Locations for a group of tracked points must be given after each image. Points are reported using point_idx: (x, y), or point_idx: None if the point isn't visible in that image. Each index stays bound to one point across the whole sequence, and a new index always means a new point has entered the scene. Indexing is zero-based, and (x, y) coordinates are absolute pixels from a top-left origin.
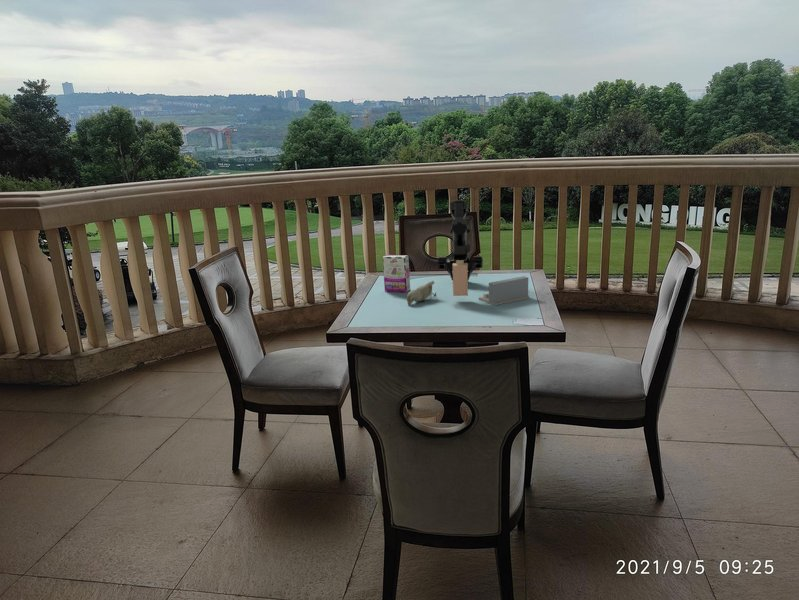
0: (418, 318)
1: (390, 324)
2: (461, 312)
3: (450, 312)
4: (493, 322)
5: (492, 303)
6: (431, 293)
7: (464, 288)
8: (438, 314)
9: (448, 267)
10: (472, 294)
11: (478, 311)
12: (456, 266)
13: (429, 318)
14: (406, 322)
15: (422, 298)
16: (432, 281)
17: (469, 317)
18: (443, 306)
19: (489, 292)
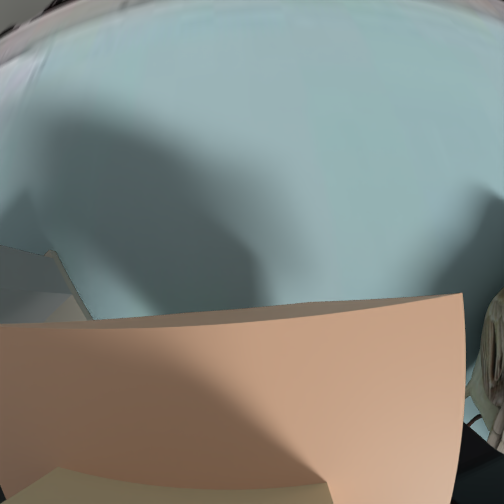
0: (419, 49)
1: (472, 22)
2: (231, 114)
3: (295, 110)
4: (102, 37)
5: (58, 265)
6: (469, 381)
7: (201, 312)
8: (352, 83)
9: (489, 456)
10: None
11: (138, 140)
12: (305, 313)
13: (375, 43)
14: (438, 24)
15: (501, 290)
16: (501, 451)
17: (188, 57)
18: (360, 219)
19: (31, 284)
